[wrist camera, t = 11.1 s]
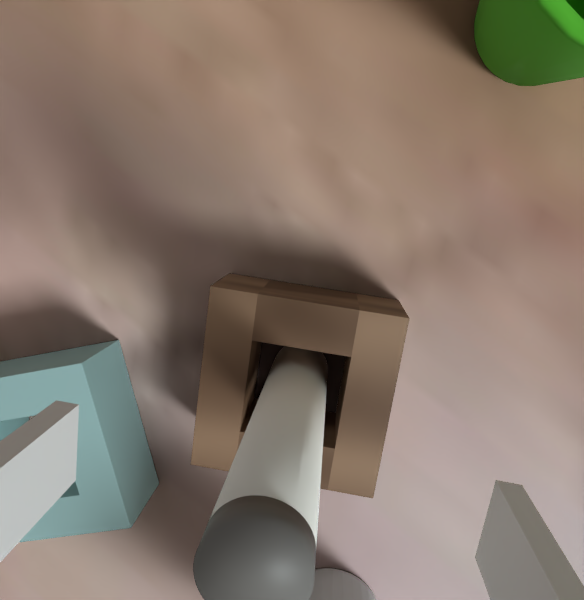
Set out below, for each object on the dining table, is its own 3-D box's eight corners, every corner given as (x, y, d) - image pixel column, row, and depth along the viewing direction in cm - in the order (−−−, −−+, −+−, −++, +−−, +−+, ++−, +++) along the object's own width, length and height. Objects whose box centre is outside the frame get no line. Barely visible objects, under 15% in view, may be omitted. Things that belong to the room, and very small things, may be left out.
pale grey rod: (277, 338, 26) (198, 510, 12) (331, 346, 26) (322, 532, 11) (270, 389, 27) (188, 613, 12) (323, 398, 27) (304, 636, 12)
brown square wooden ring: (229, 273, 26) (209, 286, 22) (398, 300, 25) (409, 318, 21) (211, 427, 28) (190, 464, 24) (368, 455, 27) (373, 498, 23)
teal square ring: (-24, 366, 28) (-82, 392, 24) (118, 339, 27) (81, 363, 23) (22, 502, 30) (-25, 548, 26) (159, 483, 29) (131, 527, 25)
